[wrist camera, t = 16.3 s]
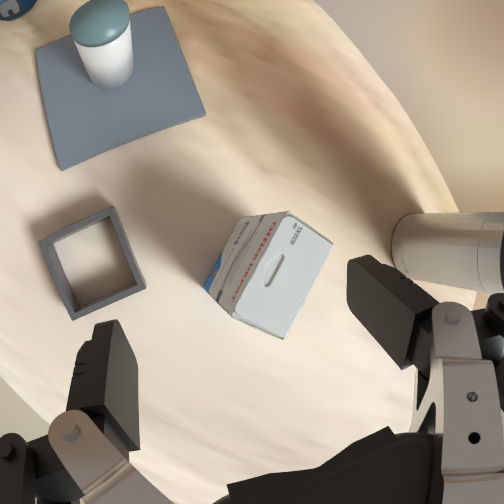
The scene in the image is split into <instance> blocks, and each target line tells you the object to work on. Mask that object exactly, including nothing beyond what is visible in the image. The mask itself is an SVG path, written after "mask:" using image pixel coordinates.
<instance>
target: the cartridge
mask: <svg viewBox="0 0 504 504" xmlns="http://www.w3.org/2000/svg"><path fill="white" fill-rule="evenodd" d="M69 28H70V32H71V34H72V37H73V39H74V42H75V44H76V47H77V49H78V52H79V54H80V57H81V59H82V61H83V64H84V66H85V68H86V71H87V73H88V75H89V78H90V80H91V82H92V83H93V84H94V85H95V86H96V87H98V88H101V89H113V88H116V87H119V86H121V85H122V84H124V83H125V82H126V81H127V80H128V79H129V78H130V77H131V75H132V73H133V70H134V60H133V50H132V40H131V29H130V16H129V8H128V5H127V4H126V3H125V2H124V1H123V0H91V1H89V2H87V3H85V4H84V5H82V6H81V7H80V8H79V9H78V10H77V11H76V12H75V13H74V14H73V16H72V18H71V20H70V24H69Z"/></svg>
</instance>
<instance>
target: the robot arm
mask: <svg viewBox="0 0 504 504" xmlns="http://www.w3.org/2000/svg"><path fill="white" fill-rule="evenodd" d="M392 257H393V261H394V264H395V267H396V268H397V269H396V268H394V267H391V266H388V265H386V264H381V263H380V262H379V261H377V260H376V259H375V258H374V257H372V256H371V255H364V256H361V257H358V258H354V259H351V260H349V261H348V264H347V303H348V306H349V308H350V310H351V312H352V313H353V314H354V315H355V317H356V318H357V319H358V320H359V321H360V322H361V323H362V325H363V326H364V327H365V328H366V329H367V330H368V331H369V333H370V334H371V335H372V336H373V337H374V338H375V339H376V341H377V342H378V343H379V344H380V345H381V346H382V348H383V349H384V350H385V351H386V352H387V353H388V355H389V356H390V357H391V358H392V359H393V360H394V362H395V363H396V364H397V365H398V366H399V367H400V369H401V370H403V369H405V368H407V367H409V366H411V365H413V364H414V365H415V367H416V372H415V383H414V402H413V415H412V422H411V426H410V429H409V433H399V434H394V433H393V432H392V430H391V429H390V428H389V426H387V427H385V428H383V429H381V430H379V431H377V432H375V433H373V434H371V435H369V436H367V437H365V438H362V439H360V440H358V441H356V442H354V443H352V444H351V445H349V446H348V447H347V448H345V449H344V450H343V451H341V452H340V453H338V454H337V455H336V456H334V457H333V458H331V459H330V460H328V461H327V462H325V463H324V464H322V465H321V466H319V467H317V468H314V469H307V470H299V471H291V472H280V473H269V474H266V475H262V476H258V477H255V478H251V479H247V480H243V481H239V482H235V483H231V484H227V488H228V491H229V494H228V495H226V496H224V497H222V498H221V499H219V500H217V501H216V502H214V503H213V504H504V440H503V428H502V417H501V409H502V410H503V412H504V212H467V213H424V214H409V215H407V216H405V217H404V218H402V219H401V220H400V222H399V223H398V225H397V226H396V229H395V231H394V234H393V238H392ZM409 278H410V279H409ZM411 279H415V280H420V281H426V282H430V283H436V284H441V285H446V286H452V287H457V288H463V289H468V290H473V291H479V292H485V293H490V294H492V295H491V296H490V297H489V299H488V302H487V305H486V308H484V309H480V310H474V311H470V310H469V309H468V308H466V307H465V306H463V305H461V304H459V303H456V302H442V303H439V302H438V301H437V300H435V299H434V298H433V297H432V296H431V295H429V294H428V293H427V292H426V291H424V290H423V289H422V288H421V287H419V286H418V285H417V284H416V283H415V284H414V282H413V281H412V280H411ZM500 408H501V409H500ZM137 450H140V436H139V409H138V365H137V361H136V357H135V355H134V352H133V350H132V348H131V346H130V344H129V342H128V340H127V338H126V336H125V334H124V331H123V329H122V327H121V325H120V323H119V321H118V320H116V319H115V320H110V321H106V322H101V323H97V324H95V326H94V330H93V335H92V339H91V340H90V341H85V343H84V344H83V345H82V347H81V348H80V350H79V351H78V353H77V357H76V362H75V367H74V371H73V377H72V380H71V385H70V390H69V396H68V401H67V407H66V412H63V413H62V414H60V415H58V416H57V417H56V418H55V419H54V420H53V422H52V423H51V425H50V427H49V431H48V435H45V436H43V437H40V438H38V439H35V440H32V441H30V442H26V441H25V440H24V439H23V438H22V437H21V436H20V435H18V434H16V433H8V434H5V435H4V436H2V437H1V438H0V504H35V497H36V498H37V504H80V500H79V499H80V498H82V500H83V502H84V503H85V504H174V503H173V502H172V501H170V500H169V499H168V498H167V497H166V496H165V495H163V494H162V493H161V492H160V491H159V490H158V489H157V488H156V487H154V486H153V485H152V484H151V483H150V482H149V481H148V480H147V479H146V478H145V477H144V476H143V475H142V474H141V473H140V472H139V471H138V470H137V469H136V468H135V467H134V466H133V465H132V464H131V463H130V462H129V451H137Z"/></svg>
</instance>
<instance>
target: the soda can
mask: <svg viewBox="0 0 504 504" xmlns="http://www.w3.org/2000/svg"><path fill="white" fill-rule="evenodd" d="M36 2H37V0H0V20H6V21H11V20H15V19H18V18H20V17H22V16H23V15H25V14H26V13H27V12H29V11H30V10H31V9H32V8H33V6H34V5H35V3H36Z"/></svg>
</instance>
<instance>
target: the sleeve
mask: <svg viewBox="0 0 504 504" xmlns="http://www.w3.org/2000/svg"><path fill="white" fill-rule="evenodd" d="M109 217H110V218H111V221H112V224H113V226H114V229H115V232H116V234H117V237H118V239H119V242H120V244H121V247H122V249H123V252H124V254H125V257H126V259H127V261H128V264H129V266H130V268H131V271H132V273H133V275H134V278H135V280H136V282H135V283H133V284H131V285H128V286H126V287H124V288H122V289H119V290H117V291H115V292H113V293H110V294H108V295H106V296H104V297H101V298H99V299H97V300H95V301H92V302H90V303H88V304H86V305H83V306H81V307H79V304H78V302H77V300H76V298H75V296H74V293H73V291H72V289H71V287H70V284H69V282H68V280H67V277H66V275H65V273H64V270H63V268H62V265H61V263H60V260H59V258H58V255H57V253H56V250H55V247H54V245H53V244H54V243H56V242H58V241H60V240H62V239H64V238H66V237H68V236H70V235H72V234H74V233H76V232H78V231H81V230H83V229H85V228H87V227H89V226H91V225H93V224H96V223H98V222H100V221H102V220H105V219H107V218H109ZM39 244H40V247H41V249H42V252H43V255H44V257H45V260H46V263H47V265H48V268H49V270H50V273H51V275H52V277H53V280H54V282H55V285H56V287H57V289H58V291H59V294H60V296H61V298H62V300H63V303H64V305H65V307H66V309H67V311H68V313H69V315H70V317H71V319H72V321H73V320H76V319H78V318H80V317H82V316H85V315H87V314H89V313H91V312H94V311H96V310H98V309H100V308H103V307H105V306H107V305H109V304H112V303H114V302H116V301H119V300H121V299H123V298H125V297H128V296H130V295H132V294H134V293H137V292H139V291H141V290H144V289H146V282H145V280H144V277H143V275H142V273H141V270H140V268H139V266H138V263H137V261H136V259H135V256H134V254H133V251H132V249H131V246H130V244H129V241H128V239H127V236H126V234H125V231H124V229H123V226H122V224H121V221H120V218H119V216H118V213H117V210H116V208H115V207H113V206H112V207H110V208H107V209H105V210H103V211H101V212H99V213H96V214H94V215H92V216H90V217H88V218H85V219H83V220H81V221H79V222H77V223H75V224H73V225H70V226H68V227H66V228H64V229H62V230H60V231H58V232H56V233H54V234H52V235H50V236H48V237H46V238H44V239H42V240H40V241H39Z"/></svg>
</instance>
